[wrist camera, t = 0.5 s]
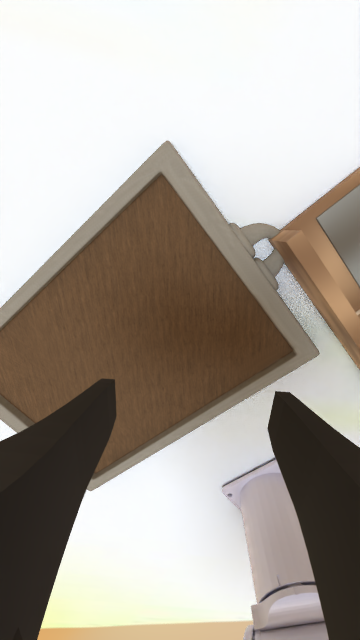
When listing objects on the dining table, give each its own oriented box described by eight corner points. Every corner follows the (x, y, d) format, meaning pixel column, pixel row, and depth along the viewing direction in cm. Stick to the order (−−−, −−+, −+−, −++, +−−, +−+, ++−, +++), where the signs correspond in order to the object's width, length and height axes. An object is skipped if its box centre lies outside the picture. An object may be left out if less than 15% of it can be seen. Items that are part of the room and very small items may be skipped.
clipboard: (-63, 370, 22) (201, 103, 15) (-46, 361, 24) (200, 114, 16) (89, 493, 27) (353, 335, 19) (95, 479, 28) (341, 328, 21)
